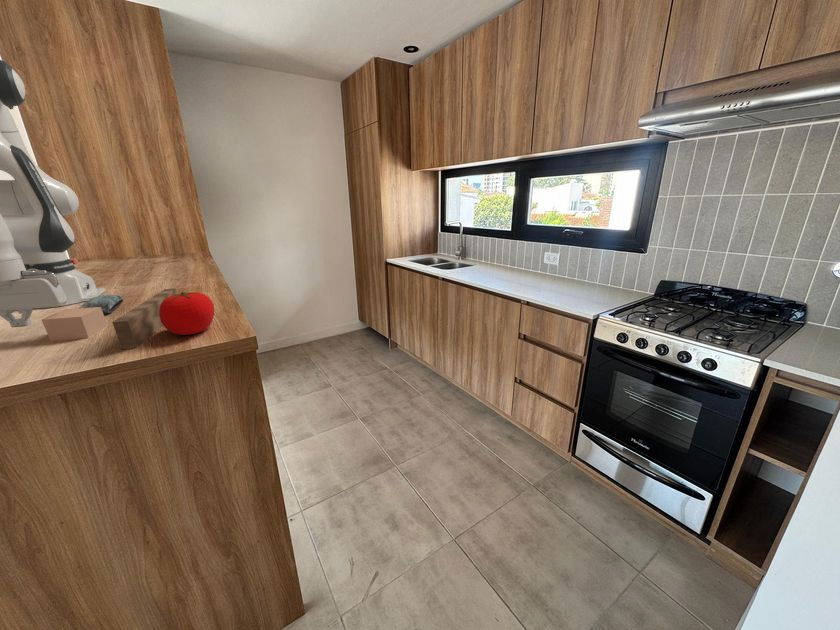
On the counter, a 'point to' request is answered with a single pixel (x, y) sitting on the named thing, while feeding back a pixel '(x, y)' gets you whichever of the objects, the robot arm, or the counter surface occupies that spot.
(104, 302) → the packaged food
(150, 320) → the walnut board
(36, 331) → the counter surface
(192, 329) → the tomato
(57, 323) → the terracotta block
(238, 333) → the counter surface
